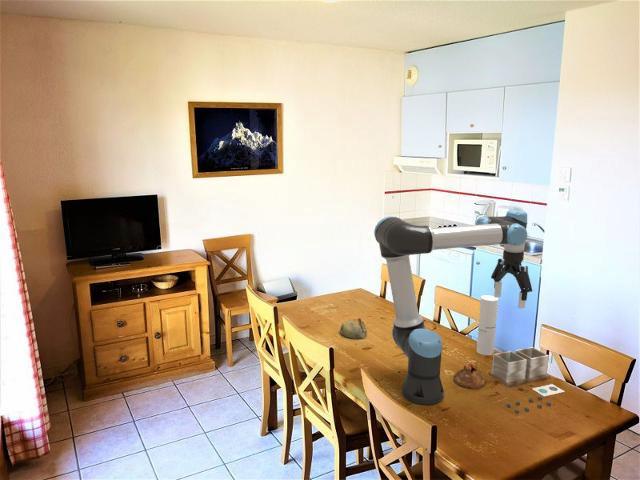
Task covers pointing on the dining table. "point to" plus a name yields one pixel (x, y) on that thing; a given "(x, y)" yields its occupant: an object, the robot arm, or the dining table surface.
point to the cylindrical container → (487, 325)
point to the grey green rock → (354, 329)
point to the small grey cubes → (527, 407)
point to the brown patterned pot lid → (469, 377)
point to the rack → (520, 366)
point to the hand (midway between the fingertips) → (508, 302)
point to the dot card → (548, 390)
